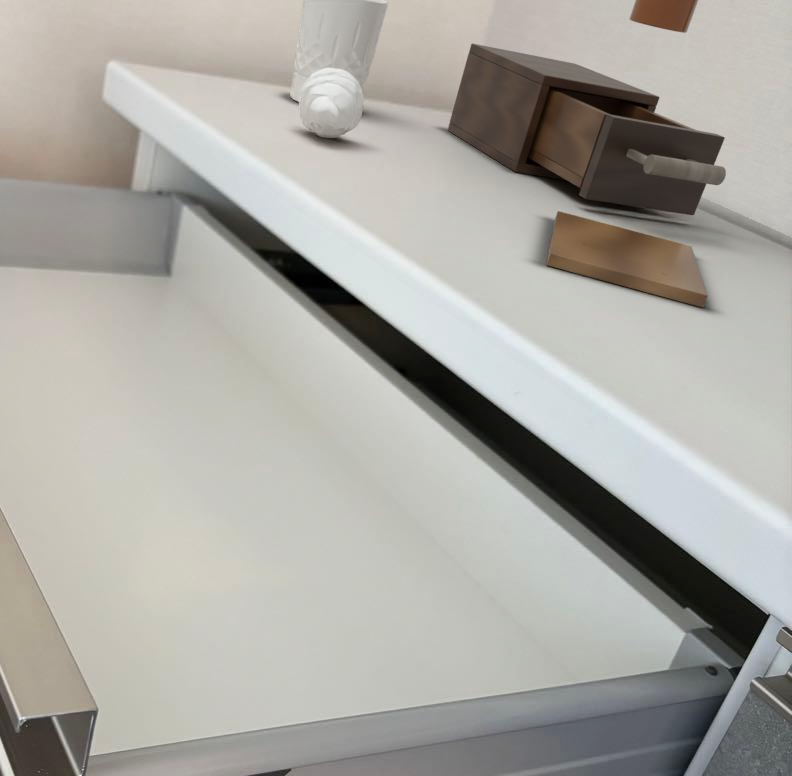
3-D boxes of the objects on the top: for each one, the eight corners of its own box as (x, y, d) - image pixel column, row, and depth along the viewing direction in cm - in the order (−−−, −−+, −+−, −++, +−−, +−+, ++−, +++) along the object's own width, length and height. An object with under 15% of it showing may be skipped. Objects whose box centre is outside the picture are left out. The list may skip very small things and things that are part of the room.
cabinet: (626, 189, 100) (660, 96, 96) (514, 172, 96) (544, 74, 92) (548, 147, 113) (575, 63, 108) (447, 130, 109) (471, 43, 105)
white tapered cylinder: (269, 95, 106) (291, -19, 101) (308, 92, 112) (330, -15, 107) (340, 117, 103) (366, 1, 98) (375, 113, 109) (401, 4, 104)
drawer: (724, 232, 87) (758, 151, 84) (612, 215, 84) (643, 130, 80) (606, 169, 102) (631, 98, 99) (508, 153, 99) (530, 79, 96)
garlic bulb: (288, 139, 89) (302, 68, 86) (293, 126, 94) (307, 59, 91) (353, 153, 89) (370, 83, 86) (355, 140, 94) (370, 73, 91)
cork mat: (687, 256, 81) (691, 246, 80) (702, 307, 69) (708, 295, 68) (554, 221, 82) (557, 210, 82) (546, 265, 70) (550, 253, 70)
